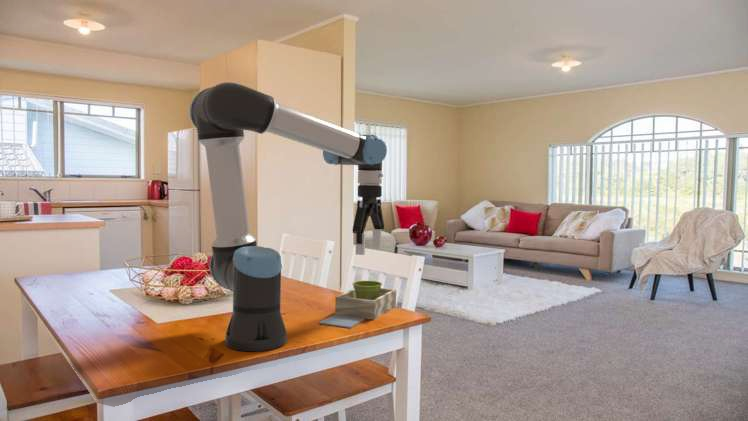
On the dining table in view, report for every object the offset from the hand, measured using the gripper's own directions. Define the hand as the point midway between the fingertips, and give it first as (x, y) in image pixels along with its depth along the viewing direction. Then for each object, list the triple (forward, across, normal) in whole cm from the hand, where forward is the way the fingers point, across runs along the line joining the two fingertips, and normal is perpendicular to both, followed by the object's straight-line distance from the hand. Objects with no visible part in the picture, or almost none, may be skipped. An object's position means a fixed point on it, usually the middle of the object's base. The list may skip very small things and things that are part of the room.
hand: (368, 251), depth 167 cm
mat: (+18, -16, +1) cm, 25 cm away
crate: (+19, 0, 0) cm, 19 cm away
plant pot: (+19, 0, 0) cm, 19 cm away
